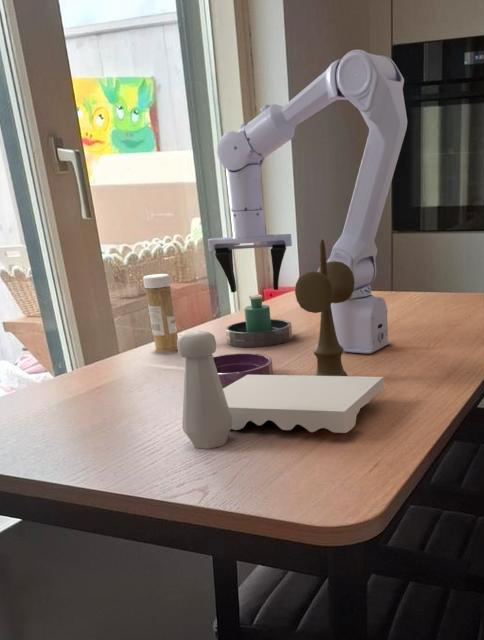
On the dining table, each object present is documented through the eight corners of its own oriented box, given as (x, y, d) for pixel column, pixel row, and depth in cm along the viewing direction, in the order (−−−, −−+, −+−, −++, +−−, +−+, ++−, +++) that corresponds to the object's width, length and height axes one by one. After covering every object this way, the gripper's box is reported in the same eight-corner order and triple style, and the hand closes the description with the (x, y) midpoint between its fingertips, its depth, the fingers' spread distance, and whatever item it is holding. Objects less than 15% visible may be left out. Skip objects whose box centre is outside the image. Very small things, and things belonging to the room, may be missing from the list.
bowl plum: (288, 375, 108) (287, 356, 107) (242, 397, 99) (240, 377, 97) (226, 369, 114) (224, 350, 112) (177, 389, 104) (174, 370, 103)
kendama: (359, 373, 106) (353, 235, 98) (338, 392, 98) (330, 242, 90) (322, 372, 108) (314, 236, 100) (299, 390, 100) (288, 243, 92)
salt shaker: (188, 436, 85) (172, 329, 80) (235, 432, 86) (222, 325, 80) (183, 453, 80) (165, 340, 75) (233, 449, 80) (219, 336, 75)
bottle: (277, 337, 131) (273, 294, 128) (263, 343, 127) (258, 298, 124) (257, 336, 133) (252, 293, 130) (242, 341, 130) (237, 297, 126)
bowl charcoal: (304, 336, 132) (303, 320, 131) (268, 351, 123) (266, 334, 122) (252, 333, 138) (251, 317, 137) (214, 347, 129) (212, 330, 127)
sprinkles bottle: (184, 350, 127) (173, 274, 122) (160, 355, 125) (148, 277, 120) (174, 346, 131) (163, 272, 125) (151, 351, 129) (139, 275, 123)
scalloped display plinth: (196, 431, 87) (346, 439, 80) (192, 406, 86) (344, 411, 79) (250, 397, 100) (384, 401, 93) (247, 374, 99) (383, 376, 92)
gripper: (289, 206, 124) (295, 284, 130) (208, 211, 125) (218, 289, 130) (287, 208, 118) (294, 290, 124) (202, 213, 118) (212, 295, 124)
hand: (254, 290), depth 127 cm, fingers open, 7 cm apart
